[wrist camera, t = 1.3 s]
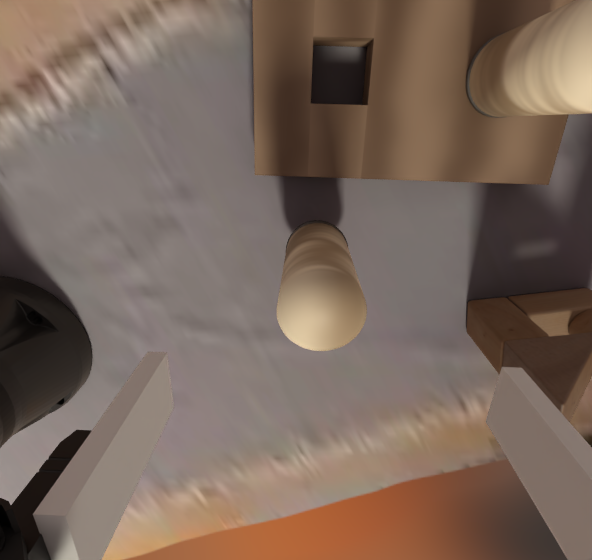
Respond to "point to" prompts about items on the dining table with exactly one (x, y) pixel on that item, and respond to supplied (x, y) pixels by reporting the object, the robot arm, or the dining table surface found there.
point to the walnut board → (422, 88)
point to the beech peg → (320, 289)
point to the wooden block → (539, 340)
